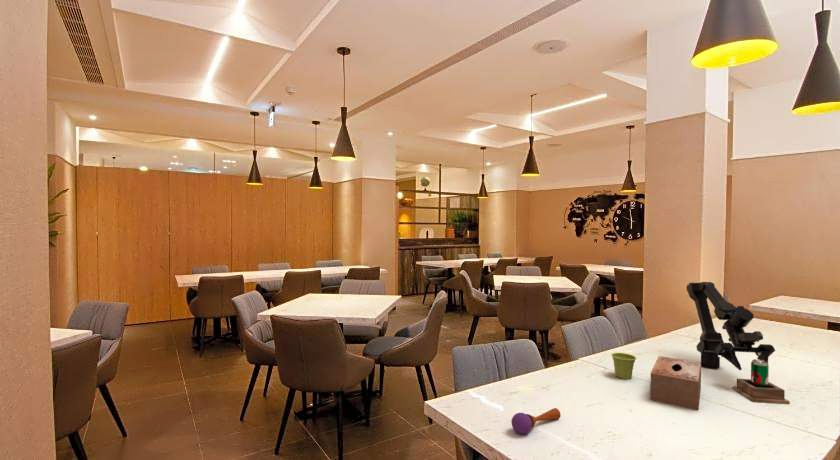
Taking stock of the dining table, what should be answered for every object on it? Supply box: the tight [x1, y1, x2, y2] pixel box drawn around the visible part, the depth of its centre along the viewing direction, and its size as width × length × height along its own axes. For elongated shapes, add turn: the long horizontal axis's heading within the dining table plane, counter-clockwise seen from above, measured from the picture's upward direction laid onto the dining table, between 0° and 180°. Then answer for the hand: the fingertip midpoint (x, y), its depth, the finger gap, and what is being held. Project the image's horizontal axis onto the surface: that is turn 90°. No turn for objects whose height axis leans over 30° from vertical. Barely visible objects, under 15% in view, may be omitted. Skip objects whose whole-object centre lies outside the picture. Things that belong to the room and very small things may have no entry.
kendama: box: [511, 407, 561, 435], centre depth 130 cm, size 6×6×20 cm
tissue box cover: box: [650, 355, 702, 411], centre depth 156 cm, size 26×14×10 cm, turn 144°
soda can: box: [750, 358, 770, 388], centre depth 154 cm, size 5×5×12 cm
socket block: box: [731, 378, 791, 405], centre depth 154 cm, size 12×12×4 cm
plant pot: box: [611, 352, 637, 380], centre depth 174 cm, size 9×9×9 cm
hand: (753, 370), depth 157 cm, fingers open, 9 cm apart
